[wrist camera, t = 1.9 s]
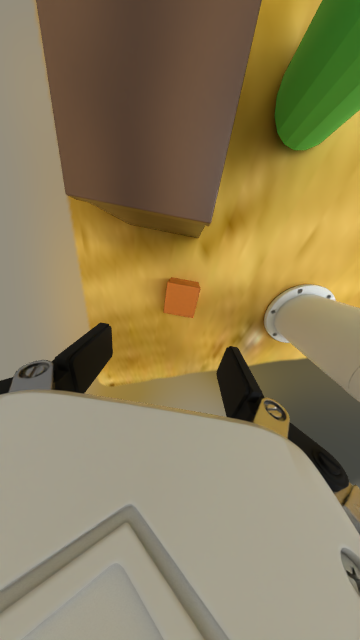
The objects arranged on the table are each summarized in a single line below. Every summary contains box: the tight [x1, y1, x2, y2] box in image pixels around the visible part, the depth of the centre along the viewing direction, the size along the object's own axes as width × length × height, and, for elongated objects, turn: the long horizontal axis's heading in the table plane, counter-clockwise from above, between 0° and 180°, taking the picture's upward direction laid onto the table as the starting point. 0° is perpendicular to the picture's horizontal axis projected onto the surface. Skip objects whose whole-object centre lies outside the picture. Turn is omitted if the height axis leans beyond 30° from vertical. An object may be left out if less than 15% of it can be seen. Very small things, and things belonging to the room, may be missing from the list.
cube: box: [164, 277, 200, 318], centre depth 25 cm, size 5×5×5 cm
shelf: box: [36, 0, 262, 238], centre depth 14 cm, size 13×16×13 cm
